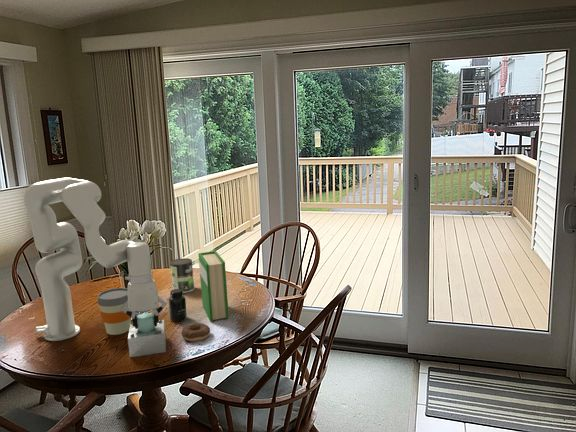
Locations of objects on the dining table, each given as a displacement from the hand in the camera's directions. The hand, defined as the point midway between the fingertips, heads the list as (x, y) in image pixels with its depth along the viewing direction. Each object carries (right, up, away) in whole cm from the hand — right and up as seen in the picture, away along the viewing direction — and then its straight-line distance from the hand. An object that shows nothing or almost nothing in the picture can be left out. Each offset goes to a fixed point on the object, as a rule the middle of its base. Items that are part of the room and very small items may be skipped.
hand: (146, 325), depth 170 cm
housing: (0, -8, +2) cm, 8 cm away
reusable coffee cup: (-16, -6, +17) cm, 24 cm away
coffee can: (+1, +4, +58) cm, 58 cm away
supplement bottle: (+6, -3, +25) cm, 26 cm away
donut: (+16, -6, +8) cm, 19 cm away
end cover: (0, -9, +2) cm, 9 cm away
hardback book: (+20, -2, +29) cm, 36 cm away
